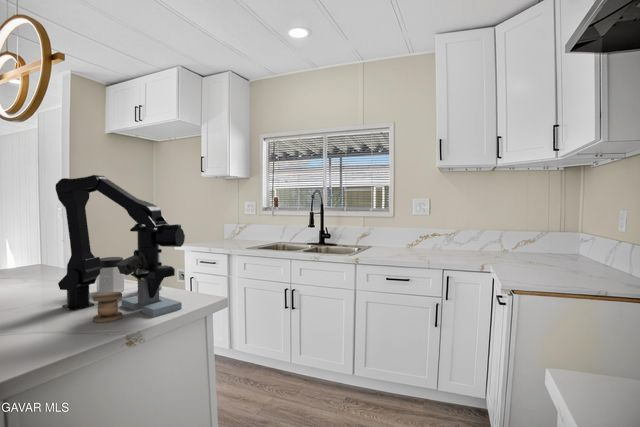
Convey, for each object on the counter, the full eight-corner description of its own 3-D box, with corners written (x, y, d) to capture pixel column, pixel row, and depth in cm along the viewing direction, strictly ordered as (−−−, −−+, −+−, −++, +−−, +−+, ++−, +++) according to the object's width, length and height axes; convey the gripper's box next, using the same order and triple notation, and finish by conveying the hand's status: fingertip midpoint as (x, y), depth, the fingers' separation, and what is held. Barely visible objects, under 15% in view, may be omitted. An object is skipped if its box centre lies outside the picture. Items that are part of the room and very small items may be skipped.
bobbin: (88, 319, 95) (88, 295, 95) (115, 312, 101) (114, 290, 101) (100, 324, 91) (100, 300, 91) (127, 317, 97) (127, 294, 97)
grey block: (137, 303, 104) (137, 278, 103) (153, 299, 108) (153, 275, 107) (143, 304, 102) (143, 279, 102) (159, 300, 106) (159, 276, 106)
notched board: (121, 305, 108) (121, 299, 108) (149, 298, 115) (149, 292, 115) (153, 316, 98) (153, 309, 98) (181, 308, 105) (181, 302, 105)
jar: (91, 295, 119) (91, 261, 118) (101, 289, 127) (100, 257, 126) (120, 294, 121) (119, 260, 120) (127, 288, 129) (127, 256, 128)
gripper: (104, 246, 103) (105, 298, 103) (138, 252, 92) (138, 309, 93) (141, 242, 112) (142, 290, 113) (175, 247, 102) (176, 299, 102)
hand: (148, 297), depth 105 cm, fingers closed on grey block, 3 cm apart
